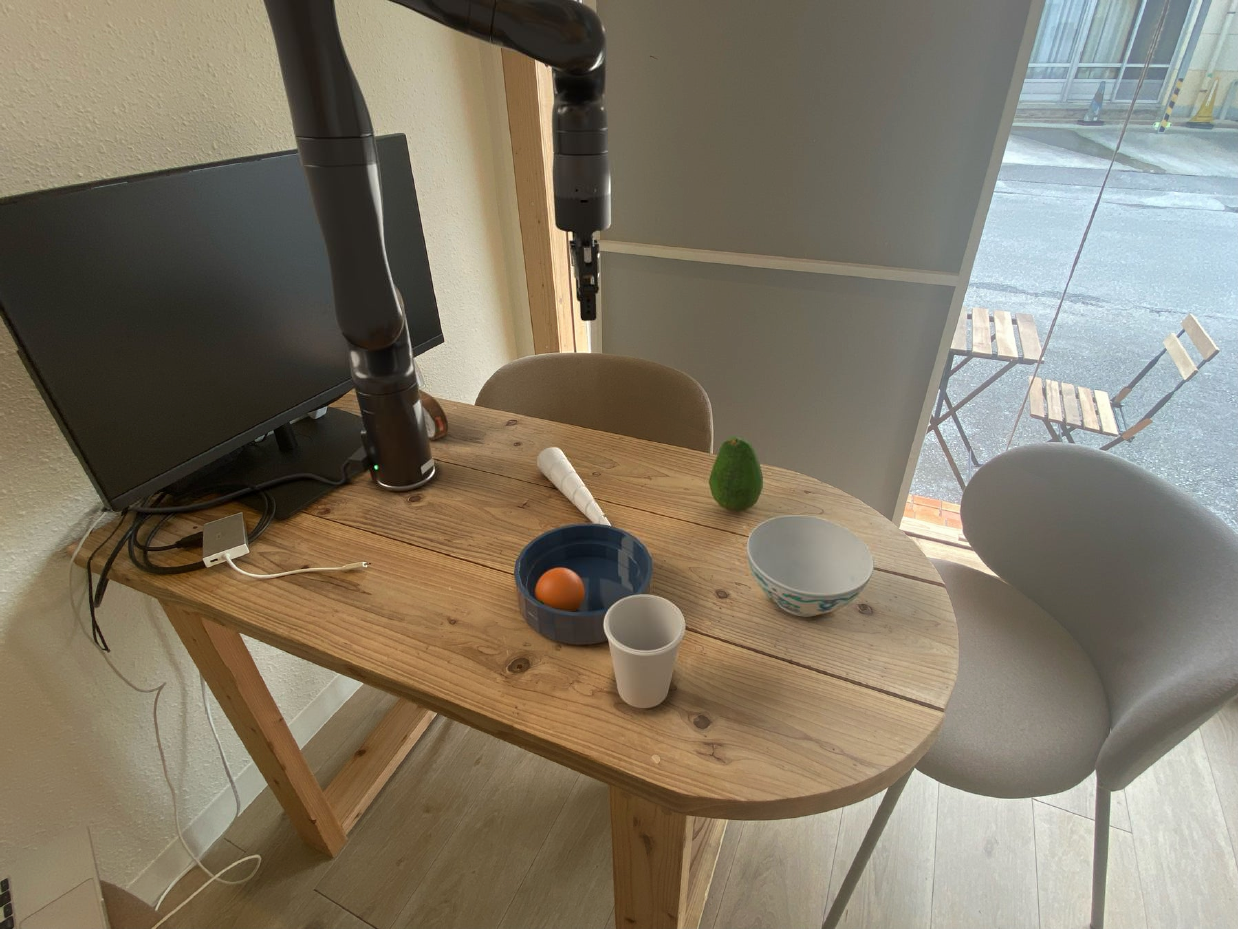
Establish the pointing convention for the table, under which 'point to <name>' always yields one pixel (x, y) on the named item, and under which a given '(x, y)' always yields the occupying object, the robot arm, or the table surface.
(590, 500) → the unicorn horn
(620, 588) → the bowl
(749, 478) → the avocado
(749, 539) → the chinaware
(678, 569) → the table surface
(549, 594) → the mandarin
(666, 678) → the dixie cup
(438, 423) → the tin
